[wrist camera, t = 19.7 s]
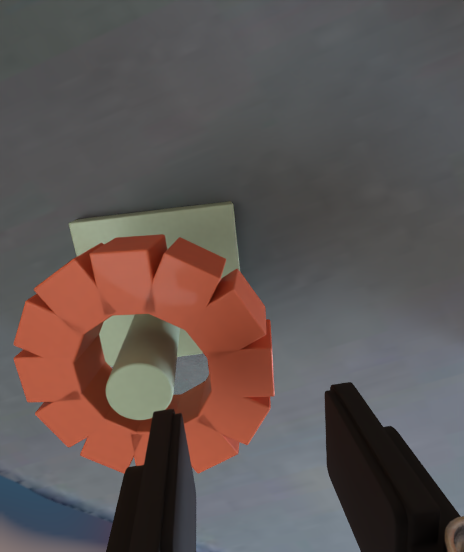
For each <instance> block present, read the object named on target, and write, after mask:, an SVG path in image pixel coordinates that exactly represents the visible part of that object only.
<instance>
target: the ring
mask: <svg viewBox="0 0 464 552" xmlns="http://www.w3.org/2000/svg"><path fill="white" fill-rule="evenodd" d="M225 263H226V259H225V258H223V257H221V256H219V255H217V254H215V253H213V252H211V251H208V250H206V249H204V248H202V247H200V246H198V245H196V244H194V243H191V242H189V241H187V240H185V239H183V238H181V237H179V238H178V239H177V240H176V241H175V242H174V243H173V244H172V245H171V246H170V247H169V248H168V250H167V245H166V238H165V235H163V234H160V235H146V236H132V237H117V238H114V239H113V240H111V241H109V242H108V243H106V244H103V243H100V244H98V245H96V246H95V247H93V248H91V249H89V250H88V251H86V252H84V253H83V254H81V255H79V256H77V257H76V258H74V259H72V260H71V261H70V262H68V263H67V264H66V265H64V266H63V267H62V268H60V269H59V270H58V271H56V272H55V273H54V274H52V275H51V276H50V277H48V278H47V279H46V280H44V281H43V282H42V283H40V284H39V285H38V286H36V287H35V288H34V291H35V292H36V293H37V294H36V295H34V296H33V297H31V298H30V299H28V300H27V301H26V302H25V306H24V309H23V313H22V316H21V320H20V323H19V327H18V330H17V334H16V337H15V341H14V345H15V346H17V347H19V348H22V349H24V350H22V351H21V352H20V353H19V354H18V355H17V356H15V357H14V362H15V365H16V368H17V371H18V374H19V377H20V380H21V383H22V387H23V390H24V393H25V396H26V399H27V402H44V403H43V404H42V406H41V407H40V408H39V409H38V410H37V411H36V413H35V415H36V416H37V417H38V418H39V419H40V420H41V421H42V422H43V423H44V424H45V425H46V426H47V427H48V428H49V429H50V430H51V431H52V432H53V433H54V434H55V435H56V436H57V437H58V438H59V439H60V440H61V441H62V442H63V443H64V444H65V445H66V446H67V447H71V446H73V445H75V444H76V443H78V442H80V441H82V440H83V439H85V438H87V439H86V442H85V444H84V447H83V449H82V451H81V454H80V455H81V456H83V457H85V458H87V459H90V460H92V461H95V462H97V463H100V464H102V465H105V466H107V467H109V468H112V469H114V470H117V471H119V472H122V473H124V474H125V471H126V469H127V468H128V467H129V465H130V463H131V461H132V459H133V457H134V458H135V463H136V466H140V465H144V462H145V456H146V450H147V445H148V439H149V433H150V427H151V422H152V418H150V419H146V420H134V419H129V418H126V417H124V416H121V415H120V414H118V413H117V412H116V411H114V409H113V408H112V407H111V406H110V404H109V402H108V400H107V397H106V384H107V381H108V379H109V376H110V374H111V371H112V368H111V367H110V366H109V365H108V364H107V363H106V361H105V358H104V354H103V349H102V345H101V340H100V336H99V333H100V330H101V328H102V325H103V322H104V321H105V320H107V319H108V318H110V317H111V316H114V315H134V314H150V315H152V316H155V317H157V318H159V319H161V320H163V321H166V322H168V323H170V324H172V325H175V326H177V327H179V328H181V329H184V330H185V331H186V332H187V333H188V334H189V336H190V337H191V338H192V339H193V341H194V342H195V343H196V344H197V346H198V347H199V348H200V349H201V351H202V352H203V353H204V354H205V356H206V357H207V359H208V367H209V376H208V378H207V379H206V381H205V382H203V383H201V384H199V385H197V386H196V387H194V388H192V389H190V390H189V391H187V392H185V393H183V394H181V395H173V397H172V400H171V402H170V404H169V406H168V407H167V408H166V409H165V410H167V409H174V411H175V414H177V413H182V416H183V422H184V427H185V433H186V438H187V444H188V449H189V455H190V461H191V466H192V467H193V469H194V470H195V471H196V472H197V473H200V472H202V471H204V470H206V469H208V468H211V467H213V466H215V465H217V464H219V463H221V462H223V461H225V460H227V459H229V458H231V457H233V456H235V455H237V454H238V451H239V442H241V443H243V444H246V445H248V444H249V442H250V440H251V439H252V437H253V436H254V434H255V433H256V431H257V429H258V428H259V426H260V425H261V423H262V421H263V420H264V418H265V417H266V415H267V414H268V412H269V410H270V408H271V405H270V396H274V395H275V392H274V375H273V357H272V340H271V324H270V320H269V319H267V320H266V310H265V306H264V304H263V303H262V302H261V300H260V299H259V297H258V296H257V295H256V293H255V292H254V290H253V289H252V288H251V286H250V285H249V283H248V282H247V281H246V279H245V278H244V276H243V275H242V274H241V272H240V271H239V269H235V270H234V271H232V272H230V273H229V274H227V275H226V276H224V277H223V278H221V276H222V273H223V269H224V266H225Z"/></svg>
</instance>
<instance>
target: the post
mask: <svg viewBox="0 0 464 552" xmlns="http://www.w3.org/2000/svg"><path fill="white" fill-rule="evenodd" d="M69 227H70V231H71V235H72V239H73V243H74V247H75V251H76V255H77V256H79V255H81V254H83V253H84V252H86V251H88V250H89V249H91V248H93V247H95V246H96V245H98V244H100V243H103V244H106V243H108V242H109V241H111V240H113V239H114V238H117V237H132V236H146V235H160V234H163V235H165V238H166V245H167V250H168V248H169V247H170V246H171V245H172V244H173V243H174V242H175V241H176V240H177V239H178V238H179V237H181V238H183V239H185V240H187V241H189V242H191V243H194V244H196V245H198V246H200V247H202V248H204V249H206V250H208V251H211V252H213V253H215V254H217V255H219V256H221V257H223V258H225V259H226V263H225V266H224V269H223V273H222V276H221V278H223V277H224V276H226V275H227V274H229V273H230V272H232V271H234V270H235V269H239V271H240V265H239V255H238V246H237V236H236V226H235V217H234V207H233V204H232V202H231V201H228V202H220V203H211V204H203V205H194V206H186V207H178V208H169V209H161V210H152V211H144V212H135V213H127V214H118V215H110V216H102V217H93V218H85V219H77V220H75V221H73V222H70V223H69ZM99 336H100V340H101V345H102V349H103V354H104V358H105V361H106V363H107V364H108V365H109V366H113V369H112V371H111V374H110V376H109V379H108V381H107V384H106V397H107V400H108V402H109V404H110V406H111V407H112V408H113V409H114V411H116V412H117V413H118V414H120V415H121V416H124V417H126V418H129V419H134V420H146V419H150V418H152V416H153V412H154V411H161V410H165V409H166V408H167V407H168V406H169V404H170V402H171V400H172V397H173V391H174V381H175V371H176V361H177V357H181V356H188V355H195V354H202V353H203V352H202V351H201V349H200V348H199V347H198V346H197V344H196V343H195V342H194V341H193V339H192V338H191V337H190V336H189V334H188V333H187V332H186V331H185V330H184V329H181V328H179V327H177V326H175V325H172V324H170V323H168V322H166V321H163V320H161V319H159V318H157V317H155V316H152V315H150V314H134V315H114V316H111V317H110V318H108V319H107V320H105V321H104V322H103V325H102V328H101V330H100V333H99Z"/></svg>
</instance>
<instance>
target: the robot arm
mask: <svg viewBox="0 0 464 552" xmlns="http://www.w3.org/2000/svg"><path fill="white" fill-rule="evenodd" d="M325 420H326V452H327V468H328V473H329V476H330V479H331V481H332V484H333V486H334V489H335V491H336V493H337V496H338V498H339V500H340V503H341V505H342V508H343V510H344V512H345V515H346V517H347V520H348V522H349V524H350V527H351V529H352V531H353V534H354V536H355V539H356V541H357V543H358V546H359V548H360V550H361V552H464V516H462V517H461V516H460V515H459V514H458V512H457V511H456V510H455V508H454V507H453V506H452V504H451V503H450V502H449V500H448V499H447V498H446V496H445V495H444V494H443V492H442V491H441V490H440V488H439V487H438V485H437V484H436V483H435V481H434V480H433V479H432V477H431V476H430V475H429V473H428V472H427V471H426V469H425V468H424V467H423V465H422V464H421V463H420V461H419V460H418V459H417V457H416V456H415V455H414V453H413V452H412V450H411V449H410V448H409V446H408V445H407V444H406V442H405V441H404V440H403V438H402V437H401V436H400V434H399V433H398V432H397V431H396V430H395V428H393V427H391V426H388V427H383V426H382V425H381V423H380V422H379V420H378V419H377V418H376V416H375V415H374V413H373V412H372V410H371V409H370V408H369V406H368V405H367V403H366V402H365V400H364V399H363V398H362V396H361V395H360V393H359V392H358V390H357V389H356V388H355V386H354V385H353V384H352V383H351V382H348V383H342V384H335V385H331V388H330V391H326V392H325ZM106 552H196V490H195V483H194V477H193V472H192V466H191V461H190V455H189V449H188V444H187V438H186V433H185V427H184V422H183V416H182V413H177V414H175V411H174V409H167V410H161V411H154V412H153V416H152V422H151V427H150V433H149V439H148V445H147V450H146V456H145V462H144V465H140V466H133V467H128V468H127V469H126V471H125V474H124V477H123V482H122V486H121V490H120V495H119V499H118V503H117V507H116V512H115V516H114V520H113V525H112V529H111V533H110V537H109V542H108V546H107V550H106Z"/></svg>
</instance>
